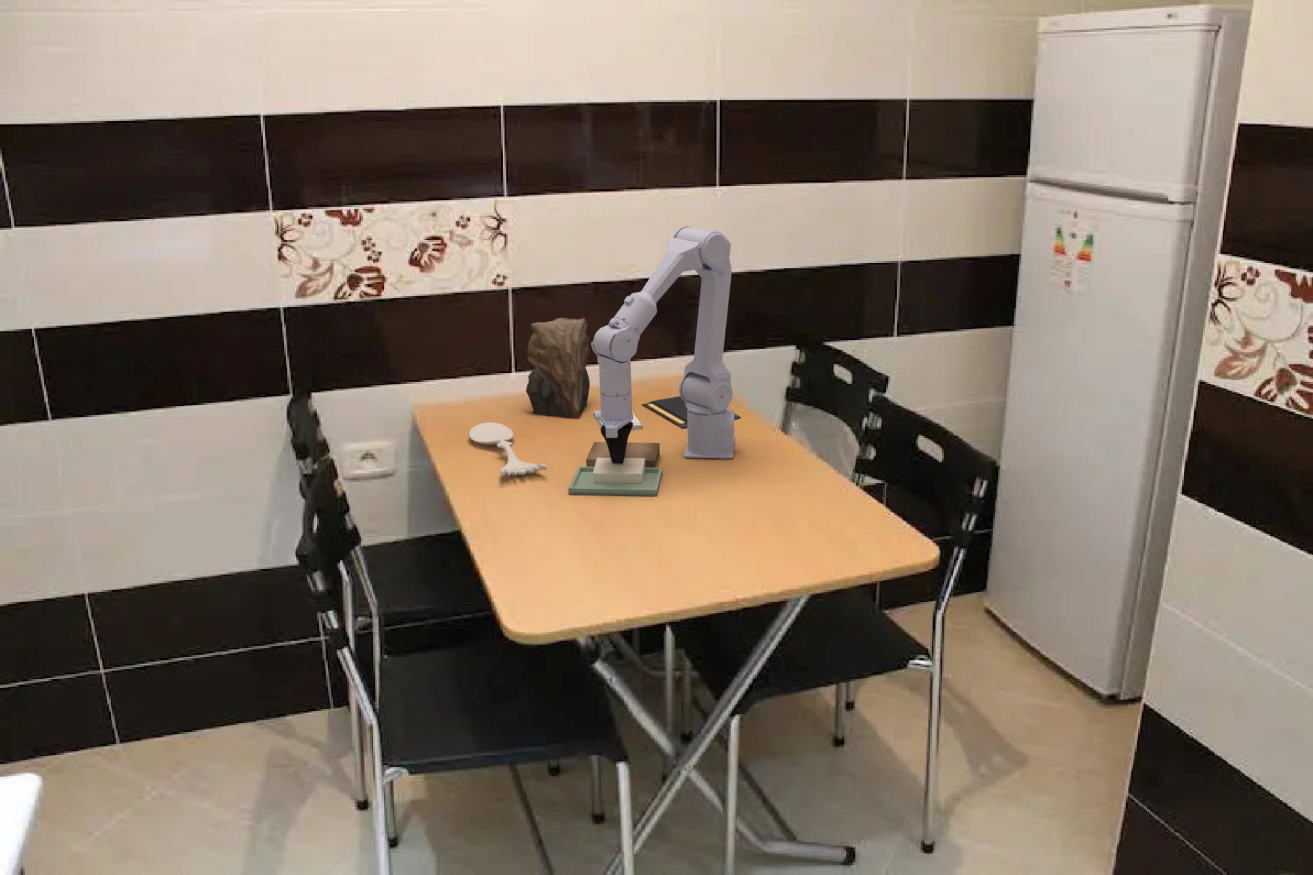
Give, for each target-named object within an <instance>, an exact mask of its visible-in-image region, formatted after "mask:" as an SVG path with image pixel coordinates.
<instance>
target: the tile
mask: <svg viewBox="0 0 1313 875" xmlns="http://www.w3.org/2000/svg"><path fill="white" fill-rule="evenodd" d="M644 471H645V458H625V459H624V462H623V463H612V461H611V458H597V460H596V464H595V467H594V471H593V482H594V483H642V482H643V477H644Z"/></svg>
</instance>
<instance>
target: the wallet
mask: <svg viewBox="0 0 1313 875" xmlns="http://www.w3.org/2000/svg"><path fill="white" fill-rule="evenodd" d="M641 407H643V408H645V409H646V410H649V411H651V412H652V413H653V414H656V415H657V416H660V417H661V418H663V419H664V420H666V421H668V422H670V423H671V424H673V425H675V426H676V427H677V428H680V429H682V430H684V429H688V418H687V407H685V401H684V400H683V399H682V398H681V397H680V395H679V396H673V397H667V398H661V399H656V400H651V401H648V402H647V403H642V404H641ZM740 419H742V417H741V416H740V415H739V414H736V413H734V421H737V420H740Z"/></svg>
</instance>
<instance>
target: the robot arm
mask: <svg viewBox="0 0 1313 875" xmlns="http://www.w3.org/2000/svg"><path fill="white" fill-rule="evenodd" d="M731 245H732V243H731V242H730V240H729V239H728V238H727V237H726V235H724V234H723V233H722V232H721V231H718V230H707V229H701V228H696V227H695V228H694V227H692V226H688V225H684V226H681V227H679V228H677V229H676V230H675V231H674V233H673V235H672V237H671V238H670V239H669V240H668V241H667V243H666V252H665V254H664V255H663V257H662V259H661V260H660V262H659V263H658V265H657V266H656V267H655V269H654V271H653V272H652V274H651V275H650V277H649V279H648V281H647V282H646V283H645V285H644V287H643V288H642V289H641V291H639V292H632V293H631V294H630V295H627V296H626V297H625V299H624V303H623V305H621V307H619V308H620V309H619V310H618V311H617V312H616V314H615V315H614V317H612V318H610V321H609V322H608V325H604V326H602V327H601V328H599V329H598V330H597V331H596V333H595V334H594V336H593V341H591V344H590V345H591V349H592V351H593V353H594V354H595V355H596V357H597V358H596V359H597V364H598V371H599V375H598V376H599V393H600V394H599V398H600V410H601V413H596V414H595V417H594V420H596V421H597V420H601V422H602V423H603V426H602V427H601V426H600V433H601V436H602V437H603V439H604V442H606V443H607V446H608V450H609V454H610V458H611V461H612V463H623V462H624V459H625V454H626V447H627V442H628V441H629V437H630V434H631V432H632V431H633V430H632V427H633V422H630V421H632V420H633V413H634V412H633V403H632V401H633V400H632V399H633V397H632V396H633V395H632V368H631V366H632V363H631V360H632V358H633V356H635V355H636V353H637V350H638V345H639V344H638V343H639V341H640V338H641V335H642V333H643V332H644V331H645V329H646V328H647V327H648V325H650V323H651V321H652V320H653V318H654V317H655V316H656V315H657V313H658V310H657V309H658V308H657V303H658V301H659V300H660V299H661V298H662V297H663V296H664V294H666V292H667V291H668V290H669V289H670V288H671V286H672V285H673V284H674V283H675V282H676V281H677V280H678V278H679V277H680V276H681V275H682V274H683V273H684V272H690V271H695V272H696V273H697V274H698V276H699V278H701V284H700V285H701V286H700V293H699V294H700V295H699V303H698V304H699V305H698V315H697V323H696V324H697V325H696V333H695V335H696V336H695V343H694V356H693V359H692V360H691V361H690V362H688V363H687V364H686V365H685V366H684V371H683V375H682V378H681V380H680V383H679V386H678V392H679V396H680V397H681V398H682V399H683V400H684V401H685V407H687V418H688V428H687V443H686V446H685V451H684V458H689V459H733V458H734V455H735V454H734V452H735V447H736V446H737V437H736V436H735V420H734V414H735V409H732V408H731V409H730V408H728V407H729V406H730V404H731V403H732V400H733V396H734V395H733V393H734V392H733V387H732V382H731V380H732V374H731V373H730V371H729V370H728V368H727V367H726V365H725V364H724V362H723V357H724V356H723V355H724V349H725V348H724V347H725V339H726V328H727V319H728V311H729V308H728V307H729V300H730V299H729V298H730V290H731V282H732V266H731V265H732V264H731V260H730V259H731V258H730V255H731V247H732V246H731ZM632 412H633V413H632Z"/></svg>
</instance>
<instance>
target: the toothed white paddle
mask: <svg viewBox="0 0 1313 875" xmlns="http://www.w3.org/2000/svg"><path fill="white" fill-rule="evenodd" d="M468 436H469V439H471V440H472V441H473V442H476V443H478V444H481V445H488V446H494V445H496V446H497V448H499V449H503V450H504V451H505V453H506V455H507V463H506V464H505V465H504V466H503V467H502V468H500V469H499V471H500V475H501V476H502V477H505V476H515V477H516V476H517V475H518V476H524V475H527V474H533V473H536V472H537V473H538V472H540V471H546V470H547V469H548V467H547V465H546V464H545V463H544V464H543V463H542V464H536V463H531V462H525V461H522V460H520V459H519V458H518V457H517V455H516V454H515V452H514V450H513V449H512V446H513V442H511V440H512V439H513V438H514V437H515V433H514V431H513V430H512V429H511V428H510V427H509V426H508V425H504V424H503V423H498V422H482V423H478V424H476V425H474V426H473V427H471V428H470V429H469V430H468Z"/></svg>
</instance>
